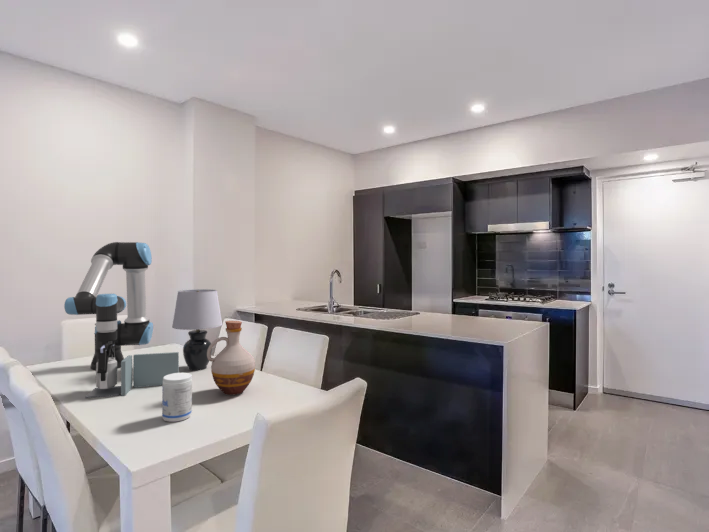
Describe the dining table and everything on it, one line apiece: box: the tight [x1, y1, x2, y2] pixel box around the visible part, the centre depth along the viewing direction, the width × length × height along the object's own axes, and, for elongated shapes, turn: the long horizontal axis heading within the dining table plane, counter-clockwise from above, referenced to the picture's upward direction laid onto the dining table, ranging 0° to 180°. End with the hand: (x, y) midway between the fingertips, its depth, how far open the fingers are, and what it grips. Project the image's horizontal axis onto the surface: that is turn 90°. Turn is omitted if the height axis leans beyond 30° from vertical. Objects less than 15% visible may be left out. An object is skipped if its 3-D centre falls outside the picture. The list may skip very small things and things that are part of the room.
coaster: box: [84, 385, 121, 399], centre depth 168 cm, size 12×12×1 cm
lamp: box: [172, 288, 223, 372], centre depth 206 cm, size 24×24×40 cm
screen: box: [120, 351, 180, 397], centre depth 172 cm, size 13×20×14 cm, turn 106°
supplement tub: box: [161, 372, 193, 423], centre depth 141 cm, size 10×10×15 cm
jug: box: [207, 320, 256, 396], centre depth 169 cm, size 20×18×30 cm
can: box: [95, 357, 118, 389], centre depth 168 cm, size 8×8×12 cm
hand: (106, 385), depth 168 cm, fingers closed on can, 7 cm apart
